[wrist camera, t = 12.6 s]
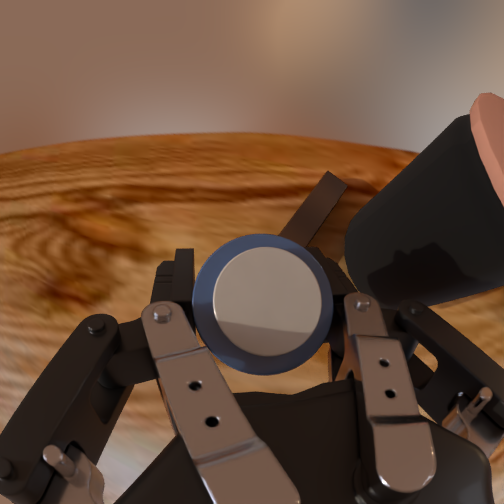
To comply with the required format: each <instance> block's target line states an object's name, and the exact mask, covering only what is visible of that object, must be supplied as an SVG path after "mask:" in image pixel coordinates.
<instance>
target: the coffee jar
mask: <svg viewBox="0 0 504 504" xmlns="http://www.w3.org/2000/svg"><path fill="white" fill-rule="evenodd" d="M344 256H345V260H346V264H347V268H348V273H349V275H350V277H351V279H352V280H353V282H354V284H355V286H356V288H357V290H358V291H359V292H360V293H364V294H367V295H370V296H372V297H373V298H375V299H376V300H377V301H378V303H379V305H380V308H386V309H394V310H397V309H398V307H399V304H400V302H401V301H403V300H406V299H412V300H416V301H419V302H421V303H423V304H424V305H426V306H427V307H428V306H432V305H436V304H440V303H444V302H448V301H452V300H456V299H459V298H463V297H467V296H470V295H474V294H477V293H481V292H484V291H488V290H491V289H494V288H497V287H501V286H504V99H503V98H501V97H499V96H497V95H495V94H492V93H481V94H480V95H479V96H478V98H477V99H476V100H475V101H474V103H473V105H472V107H471V109H470V114H468V115H464V116H460V117H458V118H456V119H455V120H454V121H453V122H452V123H451V124H450V125H449V126H448V127H447V128H446V129H445V130H444V131H443V132H442V133H441V134H440V135H439V136H438V137H437V138H436V139H435V140H434V141H433V142H432V143H431V144H430V145H428V147H426V148H425V149H424V150H423V151H422V152H421V153H420V154H419V155H418V156H417V157H416V158H415V159H414V160H413V161H412V162H411V163H410V164H409V165H408V166H407V167H406V168H405V169H403V170H402V171H401V172H400V173H399V174H398V175H397V176H396V177H395V178H394V179H393V180H392V181H391V182H390V183H389V184H388V185H386V186H385V187H384V188H383V189H382V190H381V191H380V192H379V193H378V194H377V195H376V196H375V197H373V198H372V199H371V200H370V201H369V202H368V203H367V204H366V205H365V206H364V207H363V208H361V209H360V210H359V212H358V213H357V214H356V215H355V216H354V218H353V219H352V220H351V222H350V224H349V227H348V230H347V233H346V236H345V253H344Z"/></svg>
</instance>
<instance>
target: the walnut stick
mask: <svg viewBox="0 0 504 504" xmlns="http://www.w3.org/2000/svg"><path fill="white" fill-rule="evenodd" d="M346 188H347V185H346V184H345V183H344V182H342V181H341V180H340V179H338V178H337V177H336V176H335V175H333V174H332V173H330V172H329V171H327V172H326V173H325V175H324V176H323V177H322V178H321V180H320V181H319V182H318V184H317V185H316V186H315V188H314V189H313V190H312V192H311V193H310V194H309V196H308V197H307V198H306V200H305V201H304V202H303V204H302V205H301V206H300V208H299V209H298V210H297V212H296V213H295V214H294V215H293V217H292V218H291V219H290V221H289V222H288V223H287V225H286V226H285V227H284V229H283V230H282V231H281V233H280V234H279V235H278V236H281V237H284V238H286V239H289V240H291V241H293V242H295V243H297V244H299V245H300V246H302V247H307V245H308V244H309V243H310V241H311V240H312V238H313V237H314V235H315V234H316V232H317V231H318V230H319V228H320V227H321V225H322V224H323V222H324V221H325V219H326V218H327V216H328V215H329V213H330V212H331V210H332V209H333V208H334V206H335V205H336V203H337V202H338V200H339V199H340V197H341V196H342V194H343V193H344V191H345V190H346Z"/></svg>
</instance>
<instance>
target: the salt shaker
mask: <svg viewBox="0 0 504 504" xmlns="http://www.w3.org/2000/svg"><path fill="white" fill-rule="evenodd" d="M192 312H193V317H194V322H195V325H196V328H197V331H198V333H199V335H200V337H201V339H202V341H203V343H204V344H205V346H206V347H207V348H208V349H209V350H210V351H211V352H212V354H213V355H214V356H216V357H217V358H218V359H219V360H220V361H221V362H223V363H225V364H226V365H228V366H229V367H231V368H233V369H236V370H238V371H240V372H244V373H247V374H252V375H263V376H268V375H277V374H281V373H285V372H288V371H290V370H293V369H295V368H297V367H298V366H300V365H302V364H303V363H305V362H306V361H307V360H309V359H310V358H311V357H312V356H313V355H314V354H315V353H316V352H317V351H318V349H319V348H320V347H321V345H322V344H323V342H324V340H325V338H326V337H327V334H328V332H329V329H330V326H331V322H332V317H333V295H332V290H331V286H330V283H329V280H328V278H327V275H326V274H325V272H324V270H323V268H322V267H321V265H320V264H319V262H318V261H317V260H316V259H315V258H314V257H313V255H312V254H311V253H309V252H308V251H307V250H306V249H305V248H303V247H302V246H300V245H299V244H297V243H295V242H293V241H291V240H289V239H286V238H284V237H281V236H276V235H271V234H251V235H245V236H242V237H239V238H236V239H234V240H231V241H229V242H227V243H226V244H224V245H222V246H221V247H220V248H218V249H217V250H216V251H215V252H214V253H213V254H212V255H211V256H210V257H209V258H208V259H207V260H206V262H205V263H204V265H203V266H202V268H201V270H200V272H199V273H198V276H197V278H196V281H195V284H194V289H193V295H192Z"/></svg>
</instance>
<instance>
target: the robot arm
mask: <svg viewBox="0 0 504 504" xmlns="http://www.w3.org/2000/svg"><path fill="white" fill-rule="evenodd" d="M303 248H305V249H306V250H307V251H308V252H309V253H311V254H312V255H313V257H314V258H315V259H316V260H317V261H318V262H319V264H320V265H321V267H322V268H323V270H324V272H325V274H326V275H327V278H328V280H329V283H330V286H331V290H332V295H333V317H332V322H331V326H330V329H329V332H328V334H327V337H326V338H325V340H324V342H323V343H328V342H329V344H330V348H329V351H328V376H329V382H327V383H322V384H320V385H317V386H315V387H312V388H310V389H307V390H305V391H302V392H300V393H297V394H293V395H286V394H275V393H265V392H244V393H232V392H231V390H230V388H229V387H228V385H227V383H226V381H225V379H224V378H223V376H222V374H221V372H220V370H219V368H218V366H217V365H216V363H215V361H214V359H213V357H212V355H211V353H210V351H209V350H208V348H207V347H206V346H204V347H200V345H199V343H198V341H197V338H196V325H195V322H194V317H193V312H192V295H193V289H194V284H195V270H194V248H190V249H176V253H175V261H163V262H162V263H161V264H160V265H159V266H158V267H157V271H156V277H155V280H154V285H153V291H152V296H151V301H150V304H149V305H148V306H146V307H145V308H144V309H143V311H142V313H141V317H140V318H138V319H136V320H134V321H130V322H126V323H121V324H118V322H117V320H116V319H115V318H114V317H112V316H110V315H107V314H95V315H91V316H89V317H87V318H85V319H84V320H83V321H82V322H81V323H80V324H79V325H78V326H77V328H76V329H75V330H74V331H73V333H72V334H71V335H70V336H69V338H68V339H67V340H66V342H65V343H64V344H63V345H62V347H61V348H60V349H59V351H58V352H57V353H56V355H55V356H54V357H53V359H52V360H51V361H50V363H49V364H48V365H47V367H46V368H45V369H44V371H43V372H42V374H41V375H40V376H39V378H38V379H37V380H36V382H35V383H34V385H33V386H32V388H31V389H30V390H29V392H28V393H27V395H26V396H25V398H24V399H23V401H22V402H21V404H20V405H19V407H18V408H17V410H16V411H15V413H14V414H13V416H12V417H11V419H10V420H9V422H8V423H7V425H6V427H5V428H4V430H3V431H2V433H1V435H0V494H1V495H3V496H4V497H6V498H8V499H9V500H10V501H11V502H12V503H14V504H104V502H103V491H104V485H105V483H104V478H103V475H102V473H101V472H100V471H99V469H98V468H97V467H96V465H97V462H98V460H99V458H100V456H101V454H102V452H103V449H104V447H105V445H106V443H107V441H108V439H109V437H110V435H111V433H112V430H113V428H114V426H115V424H116V422H117V420H118V418H119V416H120V414H121V412H122V410H123V408H124V406H125V404H126V402H127V400H128V398H129V396H130V394H131V392H132V390H133V387H134V384H138V383H142V382H146V381H150V380H153V379H156V382H157V385H158V388H159V391H160V394H161V397H162V400H163V403H164V406H165V408H166V411H167V414H168V417H169V420H170V423H171V426H172V429H173V432H174V434H175V437H174V438H173V439H172V440H171V441H170V443H169V444H168V445H167V446H166V447H165V448H164V449H163V451H162V452H161V453H160V454H159V455H158V456H157V457H156V458H155V460H154V461H153V462H152V463H151V464H150V465H149V466H148V467H147V468H146V470H145V471H144V472H143V473H142V474H141V475H140V476H139V477H138V478H137V479H136V480H135V481H134V483H133V484H132V485H131V486H130V487H129V488H128V489H127V490H126V491H125V492H124V493H123V494H122V495H121V496H120V497H119V498H118V499H117V500H116V502H115V503H114V504H495V503H494V499H493V492H492V474H491V466H490V463H489V460H488V459H489V457H490V456H491V454H492V453H493V452H494V450H495V449H496V448H497V446H498V445H499V443H500V442H501V440H502V439H503V438H504V369H503V368H502V367H501V366H499V365H498V364H497V363H496V362H495V361H494V360H492V359H491V358H490V357H489V356H488V355H487V354H485V353H484V352H483V351H482V350H481V349H479V348H478V347H477V346H476V345H475V344H473V343H472V342H471V341H470V340H469V339H467V338H466V337H465V336H464V335H462V334H461V333H460V332H459V331H458V330H456V329H455V328H454V327H453V326H451V325H450V324H449V323H448V322H446V321H445V320H444V319H443V318H441V317H440V316H439V315H437V314H436V313H435V312H434V311H432V310H431V309H430V308H428V307H427V306H426V305H424V304H423V303H421V302H419V301H416V300H412V299H406V300H403V301H401V302H400V304H399V307H398V309H397V310H394V309H386V308H380V305H379V303H378V301H377V300H376V299H375V298H373V297H372V296H370V295H367V294H364V293H359V292H358V291H357V290H356V288H355V287H354V286H353V284H352V283H351V281H350V280H349V279H348V277H346V275H345V273H344V272H342V269H341V268H340V266H339V265H338V264H337V263H336V262H334V261H333V260H331V259H330V258H325V257H324V255H323V254H322V253H321V251H320V250H319V248H318V247H303ZM418 343H420V344H421V345H422V346H424V347H425V348H426V349H427V350H428V351H429V352H430V353H432V354H433V355H434V356H435V357H436V359H437V361H438V367H437V369H436V371H435V373H434V372H433V371H432V370H431V369H430V368H429V367H428V366H427V365H426V364H425V363H423V362H422V361H421V360H420V359H419V358H418V357H417V356H416V355H415V354H414V351H415V349H416V347H417V345H418ZM417 403H418V404H419V405H420V406H421V407H422V409H423V410H424V411H425V412H426V413H427V414H428V415H429V416H430V417H431V418H432V419H433V420H434V421H435V422H436V423H435V422H433V421H431V420H429V419H427V418H426V417H424V416H422V415H420V413H419V409H418V404H417Z"/></svg>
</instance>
